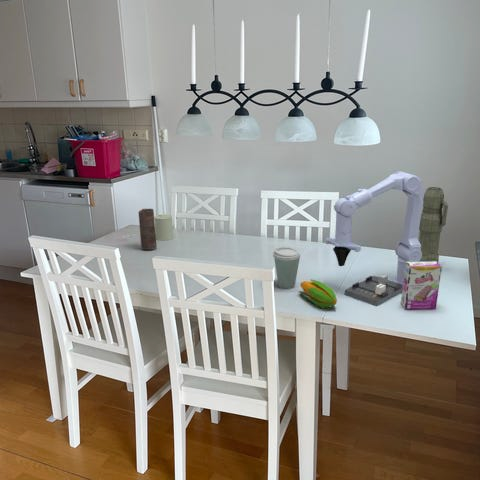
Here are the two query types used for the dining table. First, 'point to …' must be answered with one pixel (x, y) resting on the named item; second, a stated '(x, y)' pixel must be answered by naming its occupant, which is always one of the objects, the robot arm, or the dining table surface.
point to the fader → (383, 279)
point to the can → (163, 227)
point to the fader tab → (380, 289)
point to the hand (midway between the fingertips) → (341, 265)
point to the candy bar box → (420, 285)
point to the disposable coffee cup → (286, 266)
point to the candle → (147, 229)
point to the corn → (319, 293)
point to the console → (373, 291)
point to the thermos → (432, 223)
